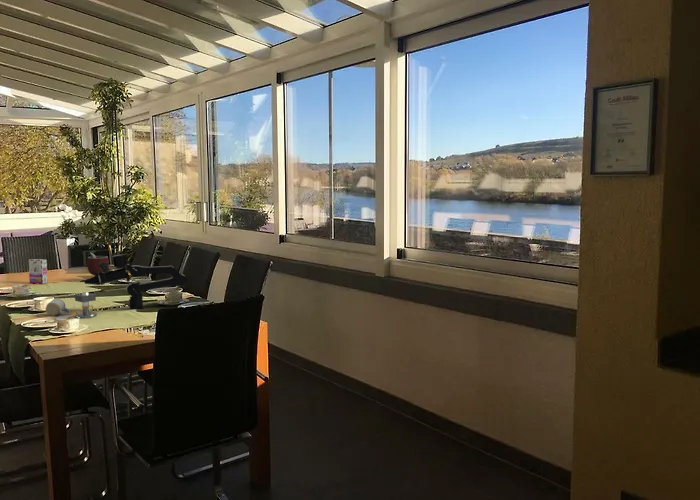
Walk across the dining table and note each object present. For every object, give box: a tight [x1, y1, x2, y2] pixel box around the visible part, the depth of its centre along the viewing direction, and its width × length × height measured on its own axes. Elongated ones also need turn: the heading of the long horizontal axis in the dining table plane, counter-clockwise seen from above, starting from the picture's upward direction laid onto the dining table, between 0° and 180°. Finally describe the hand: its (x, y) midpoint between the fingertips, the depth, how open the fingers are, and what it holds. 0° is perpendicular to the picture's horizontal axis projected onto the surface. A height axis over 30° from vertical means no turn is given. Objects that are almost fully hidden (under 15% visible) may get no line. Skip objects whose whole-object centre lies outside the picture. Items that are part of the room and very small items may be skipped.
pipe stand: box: [74, 291, 98, 319], centre depth 301 cm, size 10×10×12 cm
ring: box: [74, 292, 97, 303], centre depth 300 cm, size 7×7×3 cm
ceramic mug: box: [45, 298, 71, 317], centre depth 304 cm, size 11×8×8 cm
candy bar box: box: [28, 258, 49, 285], centre depth 405 cm, size 11×5×16 cm, turn 73°
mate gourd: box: [86, 252, 110, 277], centre depth 415 cm, size 16×14×20 cm
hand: (84, 282), depth 311 cm, fingers open, 9 cm apart
